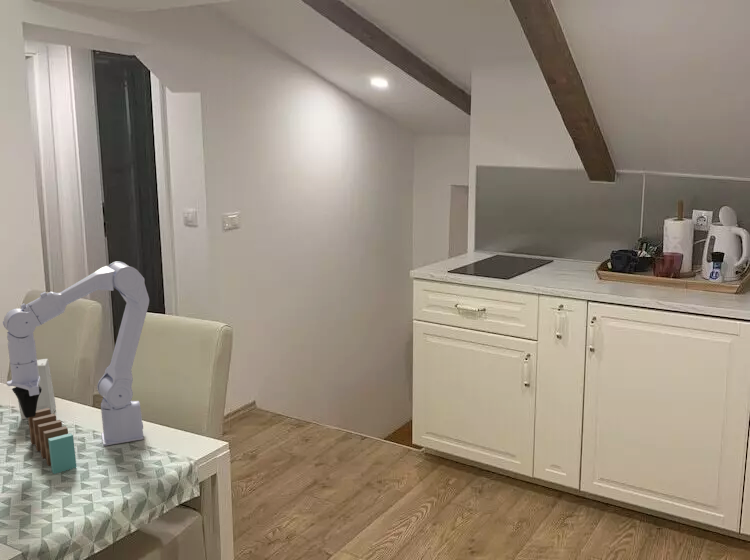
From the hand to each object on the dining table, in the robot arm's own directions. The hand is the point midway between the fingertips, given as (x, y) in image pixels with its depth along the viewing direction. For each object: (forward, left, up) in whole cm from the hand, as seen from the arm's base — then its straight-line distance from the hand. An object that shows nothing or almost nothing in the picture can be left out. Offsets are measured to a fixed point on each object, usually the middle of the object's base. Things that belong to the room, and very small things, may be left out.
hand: (29, 416), depth 179 cm
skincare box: (0, -30, -11) cm, 32 cm away
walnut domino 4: (-5, +5, -11) cm, 13 cm away
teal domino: (-6, +10, -11) cm, 16 cm away
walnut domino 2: (-3, -5, -11) cm, 12 cm away
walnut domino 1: (-2, -10, -11) cm, 14 cm away
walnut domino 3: (-4, 0, -11) cm, 11 cm away
